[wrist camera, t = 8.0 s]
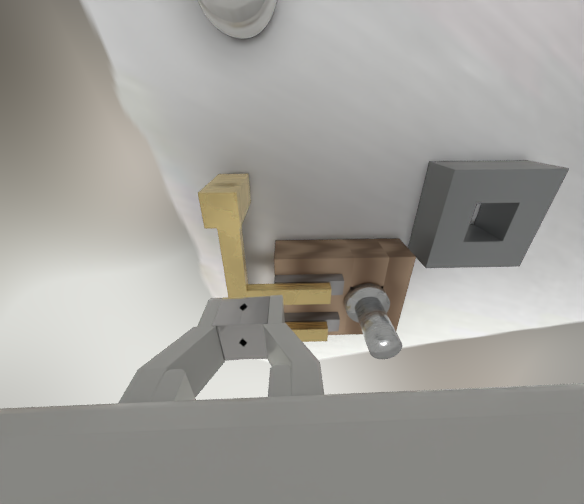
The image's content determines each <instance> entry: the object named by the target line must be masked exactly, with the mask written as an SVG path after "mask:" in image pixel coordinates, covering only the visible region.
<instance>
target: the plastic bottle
mask: <svg viewBox="0 0 584 504" xmlns="http://www.w3.org/2000/svg"><path fill="white" fill-rule="evenodd" d="M198 2H199V4H200V6H201V8H202V10H203V12H204V14H205V15H206V16H207V18H208V19H209V21H210V22H211V23H212V24H213V25H214V26H215V27H216V28H217V29H219V30H220V31H221V32H223V33H224V34H227V35H229V36H231V37H235V38H240V39H245V38H251V37H253V36H256V35H257V34H259V33H260V32H261V31H262V30H263V29H264V28H265V27H266V26H267V24H268V23H269V21H270V19H271V17H272V15H273V12H274V9H275V7H276V3H277V0H198Z"/></svg>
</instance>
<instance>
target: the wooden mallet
mask: <svg viewBox="0 0 584 504" xmlns="http://www.w3.org/2000/svg"><path fill="white" fill-rule="evenodd" d="M198 196H199V202H200V207H201V212H202V217H203V223H204V228H217V230H218V236H219V242H220V248H221V255H222V261H223V267H224V273H225V279H226V285H227V291H228V297H229V298H232V297H262V296H274V295H282V296H283V303H284V305H306V304H330V302H331V291H332V289H331V285H330V283H289V284H248V279H247V270H246V261H245V253H244V244H243V235H242V223H243V221H244V218H245V215H246V213H247V210H248V208H249V205H250V203H251V199H250V188H249V176H248V174H218V175H217V176H216V177H215V178H214V179H213V180H212V181H211V182H209V183H208V184H207V185H206V186H205V187H204V188H203V189H202V190H201V191H199V192H198ZM286 324H287V325H288V326H289V327H290V329H291V330H292V331H293V332H294V333H295V334H296V335H297V337H298V338H299V339H300V340H301V341H302V342H309V341H327V337H328V326H327V322H288V323H286Z"/></svg>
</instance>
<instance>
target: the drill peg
mask: <svg viewBox="0 0 584 504" xmlns="http://www.w3.org/2000/svg"><path fill="white" fill-rule="evenodd" d="M344 305H345V309H346V312H347V315H348V316H349V317H350V318H351V319H352V320H353V321H356V322H359V324H360V327H361V329H362V332H363V335H364V338H365V341H366V344H367V346H368V349H369V352H370V354H371V355H372V356H373V357H374V358H377V359H388V358H391V357H394V356H395V355H397V354H398V353H399V352H400V351H401V349H402V343H401V341H400V339H399V337H398V335H397V333H396V331H395V329H394V327H393V325H392V323H391V321H390V319H389V317H388V315H387V312H388V310H389V307H390V300H389V298H388V296H387V294H386V292H385V291H384V289H383V288H382V287H380V286H379V285H376V284H371V283H366V284H361V285H358V286H356V287H350V291H349V292H348V293H347V295H346V297H345V300H344Z"/></svg>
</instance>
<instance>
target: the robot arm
mask: <svg viewBox="0 0 584 504" xmlns="http://www.w3.org/2000/svg"><path fill="white" fill-rule="evenodd" d="M238 359H268V361H269V362H270V364H271V366H272V367H271V368H270V377H269V389H268V397H259V398H237V399H236V398H235V399H213V400H196V399H195V397H196V396H197V395H198V394H199V392H200V391H201V390H202V389H203V388H204V386H205V385H206V384H207V383H208V381H209V380H210V379H211V378H212V377H213V375H214V374H215V373H216V372H217V371H218V369H219V368H220V367H221V366H222V364H223V363H224V362H225V360H238ZM0 504H584V383H583V384H560V385H537V386H517V387H516V386H515V387H495V388H494V387H492V388H470V389H469V388H468V389H447V390H424V391H399V392H375V393H351V394H329V395H324V389H323V382H322V374H321V367H320V362H319V361H318V359H317V358H316V357H315V356H314V355H313V354H312V353H311V351H310V350H309V349H308V348H307V347H306V346H305V345H304V343H303V342H302V341H301V340H300V339H299V338H298V337H297V335H296V334H295V333H294V332H293V331H292V330H291V329H290V327H289V326H288V325H287V324H286V323H285V317H284V303H283V296H282V295H274V296H262V297H232V298H211V299H210V300H208V303H207V305H206V307H205V310H204V312H203V314H202V317H201V319H200V322H199V324H198V326H197V327H193V328H192V329H190V330H189V331H188V332H187V333H185V334H184V335H183V336H181V337H180V338H179V339H177V340H176V341H175V342H174V343H172V344H171V345H170V346H168V347H167V348H166V349H164V350H163V351H162V352H160V353H159V354H158V355H156V356H155V357H154V358H153V359H151V360H150V361H149V362H147V363H146V364H145V365H143V366H142V367H141V368H139V369H138V370H137V372H136V374H135V375H134V377H133V379H132V381H131V382H130V384H129V386H128V387H127V389H126V391H125V392H124V394H123V396H122V398H121V400H120V401H119V403H118V404H96V405H73V406H50V407H27V408H4V409H0Z"/></svg>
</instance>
